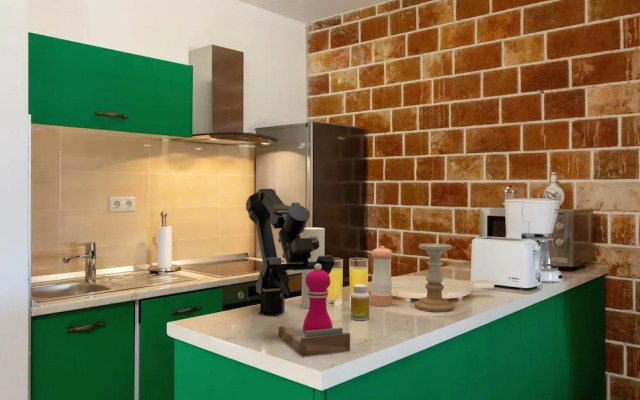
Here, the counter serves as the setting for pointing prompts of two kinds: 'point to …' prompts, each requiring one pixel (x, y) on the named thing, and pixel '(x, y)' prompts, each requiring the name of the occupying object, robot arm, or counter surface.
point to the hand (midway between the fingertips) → (306, 293)
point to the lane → (316, 342)
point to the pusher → (323, 332)
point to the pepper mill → (317, 300)
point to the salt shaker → (381, 278)
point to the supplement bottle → (360, 303)
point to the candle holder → (434, 280)
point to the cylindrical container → (312, 259)
